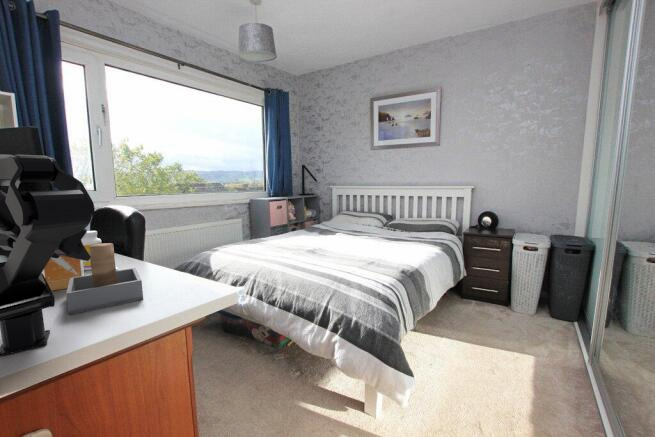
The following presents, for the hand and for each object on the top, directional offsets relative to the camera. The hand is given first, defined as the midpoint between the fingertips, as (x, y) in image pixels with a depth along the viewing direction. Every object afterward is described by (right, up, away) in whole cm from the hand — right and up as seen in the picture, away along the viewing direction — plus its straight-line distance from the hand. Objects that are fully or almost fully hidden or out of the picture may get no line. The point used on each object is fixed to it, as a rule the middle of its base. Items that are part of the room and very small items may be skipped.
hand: (73, 257), depth 72 cm
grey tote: (+2, -11, +9) cm, 14 cm away
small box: (-17, -11, +19) cm, 27 cm away
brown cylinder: (+2, -11, +8) cm, 14 cm away
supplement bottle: (-23, -8, +37) cm, 45 cm away
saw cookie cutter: (-12, -10, +30) cm, 34 cm away
